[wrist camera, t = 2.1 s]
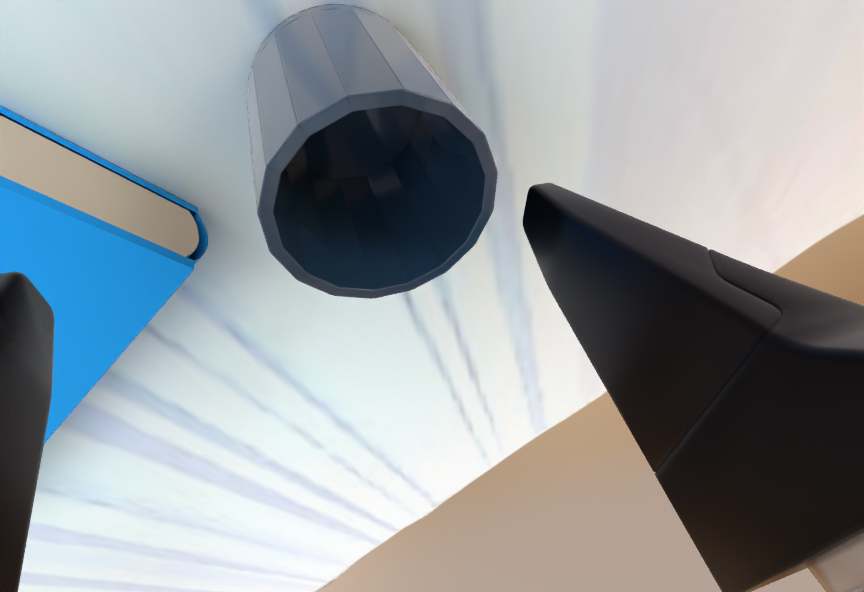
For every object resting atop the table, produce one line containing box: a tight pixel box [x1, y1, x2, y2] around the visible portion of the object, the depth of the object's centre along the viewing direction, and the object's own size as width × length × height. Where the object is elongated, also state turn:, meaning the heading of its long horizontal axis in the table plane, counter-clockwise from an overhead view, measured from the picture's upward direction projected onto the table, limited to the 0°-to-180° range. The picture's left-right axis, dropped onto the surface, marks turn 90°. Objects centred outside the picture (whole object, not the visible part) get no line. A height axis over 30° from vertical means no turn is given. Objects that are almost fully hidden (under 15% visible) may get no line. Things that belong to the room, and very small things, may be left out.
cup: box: [247, 5, 498, 299], centre depth 16 cm, size 7×7×8 cm
